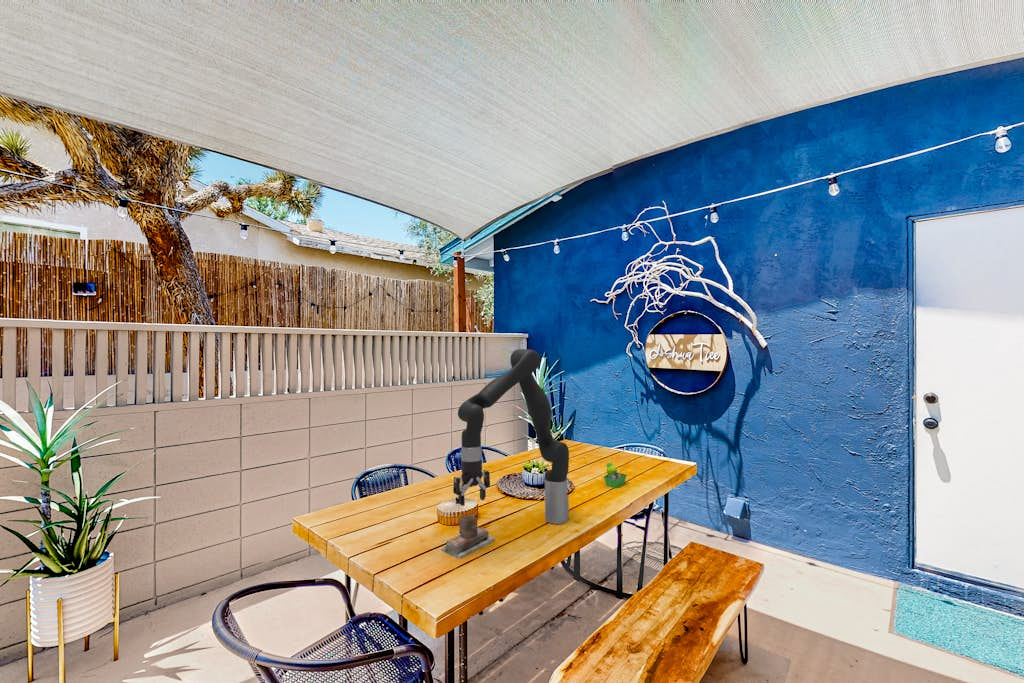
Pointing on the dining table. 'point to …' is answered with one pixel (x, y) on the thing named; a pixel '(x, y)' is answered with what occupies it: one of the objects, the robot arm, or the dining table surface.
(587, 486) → the dining table surface
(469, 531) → the walnut block
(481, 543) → the packaged product
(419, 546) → the dining table surface
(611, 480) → the potted cactus
